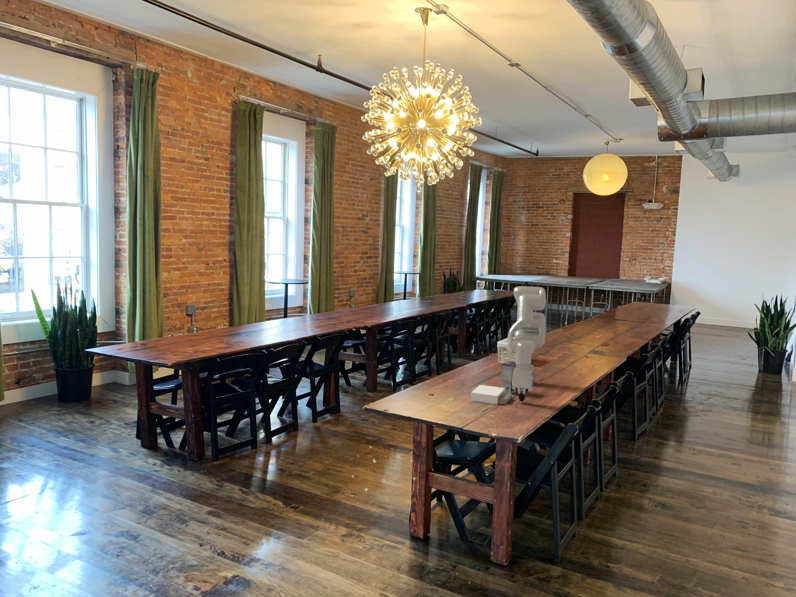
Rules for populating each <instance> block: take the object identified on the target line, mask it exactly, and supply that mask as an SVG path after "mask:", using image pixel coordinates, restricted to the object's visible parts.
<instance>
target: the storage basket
mask: <svg viewBox="0 0 796 597" xmlns="http://www.w3.org/2000/svg"><path fill="white" fill-rule="evenodd" d="M513 339H514V337H513ZM507 342H508V337H506V338H504V339H502V340H499V341H497V343H496V344H497V345H496V347H497V357H498V360H497V362H498V363H499V364H503V363H506V362H509V361H512V362H515V353H510V352H509V351H508V348H507Z"/></svg>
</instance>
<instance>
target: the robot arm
mask: <svg viewBox="0 0 796 597" xmlns="http://www.w3.org/2000/svg"><path fill="white" fill-rule="evenodd" d="M513 296H514V299H515V301H516V304H517V312H516V315H517V316H516V317H517V318H516V322H514V323H513V324H512V325H511V327H510V328H509V330H508V333H507V338H508V342H507V348H508V351H509V352H510V353H515V362H516V367H515V368H514V372H513V379H512V389H515V390H516V393H518V400H519V402H521V403H523V402H524V401H525V400H526V393H528V392H532V391H533V390H534V389H533V386H534V375H533V374H534V372H533V368H534V364H532V354H534V352H535V350H536V347H539V348H540V347H543V346H544V344H545V341H546V316H545V314H544V313H542V312H534V311H543V310H545V308H546V302H547V299H546V296H547V295H546V290H545V287H541V286H527V285H526V286H524V285H523V286H520V285H519V286H516V287H514V288H513ZM513 338H514V339H513ZM522 389H523V390H522Z"/></svg>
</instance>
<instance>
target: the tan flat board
mask: <svg viewBox="0 0 796 597" xmlns="http://www.w3.org/2000/svg"><path fill="white" fill-rule="evenodd" d="M511 399H512V394H508V393H506V394H505V396H500V397H499V398H498V404H502V405H508V403H509V402H510V401H511Z"/></svg>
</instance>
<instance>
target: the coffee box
mask: <svg viewBox="0 0 796 597" xmlns="http://www.w3.org/2000/svg"><path fill="white" fill-rule="evenodd" d="M515 367H516V362H512V361H509V362H506V363H501V377H500V378H501V382H500V387H501V388H505V394H511V395H512V394H513V393H514V394H515V393H517V391H516V390H515V389H512V379H513V372H514V368H515Z"/></svg>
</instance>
